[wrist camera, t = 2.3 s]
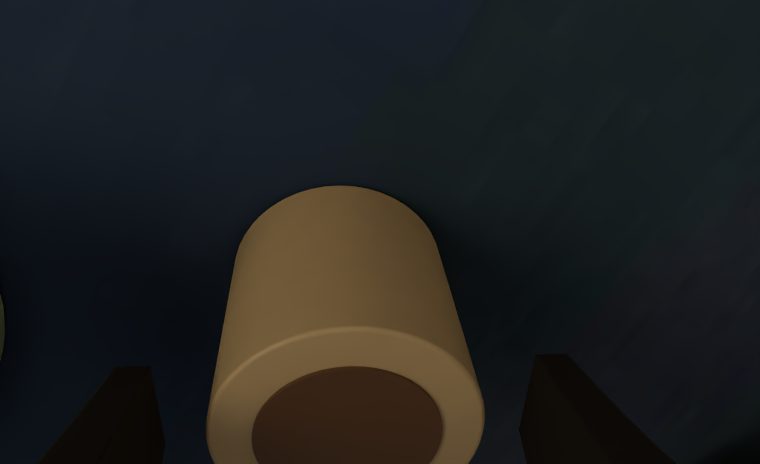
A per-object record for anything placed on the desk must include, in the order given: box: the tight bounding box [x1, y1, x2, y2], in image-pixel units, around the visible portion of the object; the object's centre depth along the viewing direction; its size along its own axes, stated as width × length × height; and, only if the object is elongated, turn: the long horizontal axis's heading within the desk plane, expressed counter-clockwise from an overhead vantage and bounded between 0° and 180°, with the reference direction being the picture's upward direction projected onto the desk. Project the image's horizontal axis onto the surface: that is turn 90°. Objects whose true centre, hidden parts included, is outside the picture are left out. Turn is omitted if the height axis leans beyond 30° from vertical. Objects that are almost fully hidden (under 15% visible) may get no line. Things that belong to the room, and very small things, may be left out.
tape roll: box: [206, 186, 485, 464], centre depth 14 cm, size 5×5×5 cm
